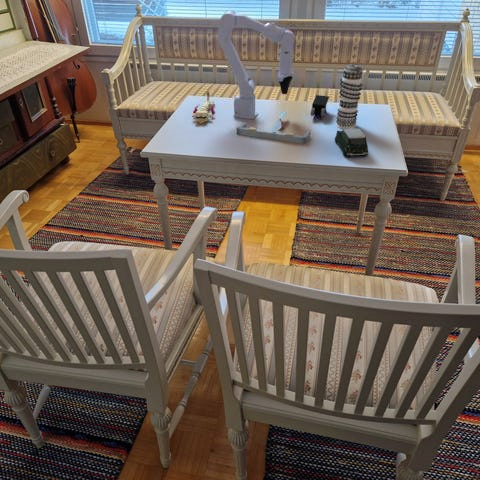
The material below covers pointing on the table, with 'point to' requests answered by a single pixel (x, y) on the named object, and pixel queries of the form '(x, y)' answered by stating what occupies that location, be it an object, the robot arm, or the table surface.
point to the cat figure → (204, 111)
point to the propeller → (279, 122)
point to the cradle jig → (272, 134)
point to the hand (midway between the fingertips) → (284, 93)
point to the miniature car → (352, 142)
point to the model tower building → (349, 96)
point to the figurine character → (319, 106)
